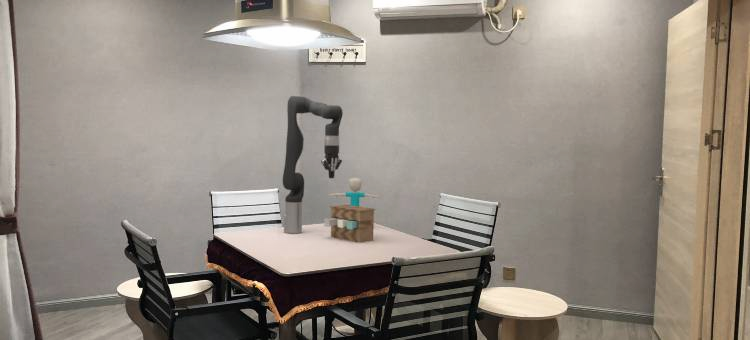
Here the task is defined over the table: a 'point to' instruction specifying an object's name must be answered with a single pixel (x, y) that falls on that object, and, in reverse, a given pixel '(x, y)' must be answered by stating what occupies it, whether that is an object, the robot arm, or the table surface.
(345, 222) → the ivory key
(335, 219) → the grey key
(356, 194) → the toy
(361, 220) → the console
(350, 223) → the teal key
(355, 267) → the table surface
